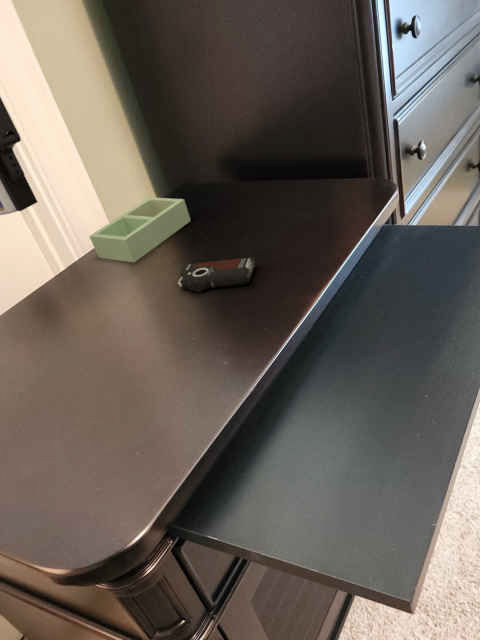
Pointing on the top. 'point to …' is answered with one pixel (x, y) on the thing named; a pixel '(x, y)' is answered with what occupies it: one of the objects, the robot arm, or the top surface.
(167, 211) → the divided box
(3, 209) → the pill bottle
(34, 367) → the top surface
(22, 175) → the robot arm
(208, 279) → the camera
